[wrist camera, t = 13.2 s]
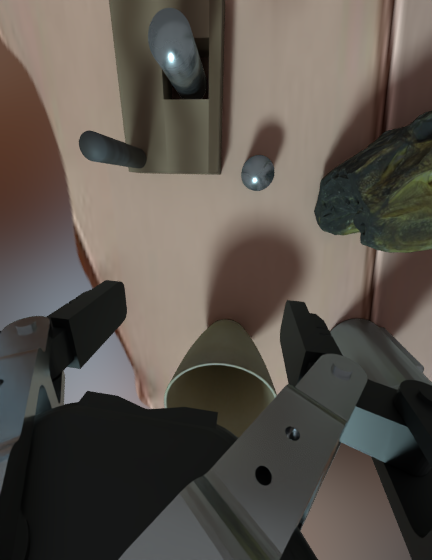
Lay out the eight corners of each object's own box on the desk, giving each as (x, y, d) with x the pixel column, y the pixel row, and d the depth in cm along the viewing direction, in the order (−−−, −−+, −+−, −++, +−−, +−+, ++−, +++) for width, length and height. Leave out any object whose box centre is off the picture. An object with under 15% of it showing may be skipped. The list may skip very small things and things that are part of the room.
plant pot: (266, 364, 46) (279, 449, 31) (194, 365, 48) (174, 445, 33) (265, 298, 40) (280, 364, 25) (183, 301, 42) (153, 364, 27)
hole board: (224, 2, 26) (210, -175, 13) (220, 174, 33) (208, 167, 20) (124, 6, 27) (20, -155, 14) (140, 173, 34) (80, 165, 21)
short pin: (270, 159, 32) (276, 155, 27) (267, 190, 33) (272, 191, 29) (242, 159, 32) (242, 154, 28) (240, 189, 34) (240, 190, 29)
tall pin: (207, 64, 28) (191, 6, 19) (207, 103, 30) (192, 67, 21) (175, 64, 29) (145, 8, 20) (177, 103, 30) (150, 68, 21)
